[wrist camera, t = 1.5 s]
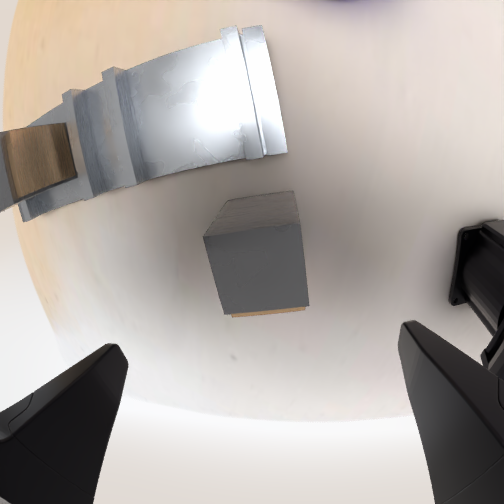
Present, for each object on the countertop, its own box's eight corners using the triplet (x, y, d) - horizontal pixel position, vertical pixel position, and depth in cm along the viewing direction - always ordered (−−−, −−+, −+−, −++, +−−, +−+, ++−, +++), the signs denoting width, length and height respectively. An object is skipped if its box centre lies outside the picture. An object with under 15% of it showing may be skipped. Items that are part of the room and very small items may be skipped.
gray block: (293, 190, 17) (300, 222, 11) (302, 258, 18) (310, 314, 13) (227, 200, 17) (202, 236, 12) (241, 265, 19) (226, 322, 14)
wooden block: (32, 142, 15) (-29, 159, 9) (71, 119, 14) (3, 128, 9) (43, 192, 16) (-15, 220, 11) (83, 175, 16) (18, 202, 10)
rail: (286, 149, 15) (288, 153, 13) (41, 212, 19) (18, 224, 16) (264, 38, 13) (261, 21, 10) (23, 135, 16) (-2, 141, 13)
